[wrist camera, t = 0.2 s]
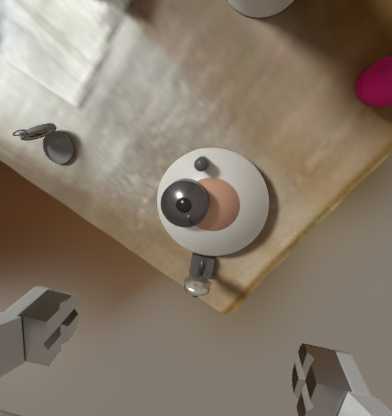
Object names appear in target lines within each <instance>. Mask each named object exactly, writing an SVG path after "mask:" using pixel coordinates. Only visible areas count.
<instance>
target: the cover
mask: <svg viewBox="0 0 392 416" xmlns="http://www.w3.org/2000/svg"><path fill="white" fill-rule="evenodd" d="M208 207H209V195H208V193H207V191H206V189H205V188H204V186H203V185H202V184H200V183H199V182H197V181H196V180H193V179H188V178H183V179H179V180H176V181H174V182H173V183H172V184H171V185H169V186H168V187H167V188H166V190H165V191H164V192H163V194H162V197H161V210H162V213H163V214H164V216H165V218H166V219H167V220H168V221H169V222H170V223H172V224H174V225H176V226H178V227H184V228H187V227H192V226H195V225H197V224H199V223H200V222H201V221H202V220H203V219H204V217H205V215H206V213H207V210H208Z"/></svg>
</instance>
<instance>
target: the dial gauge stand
mask: <svg viewBox="0 0 392 416" xmlns="http://www.w3.org/2000/svg"><path fill="white" fill-rule="evenodd" d="M214 262H215V257H214V256H209V255H202V254H198V253H193V254H192V260H191V267H190V274H189V275H192V276H188V277H187V278H186V279H185V281H184V290H185V291H186V292H187V293H189V294H191V295H192V296H193V297H198V296H204V295H207V294H208V293H209V291H210V286H211V284H210V281H209V280H208V279H212V274H213V268H214ZM206 278H208V279H206Z"/></svg>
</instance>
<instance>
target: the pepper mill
mask: <svg viewBox="0 0 392 416" xmlns="http://www.w3.org/2000/svg"><path fill="white" fill-rule="evenodd" d="M356 94H357V97H358V98H359V100H360V101H362V102H363V103H365V104H368V105H374V106H377V107H388V106H392V56H390V57H386V58H383V59H381V60H379V61H377V62H376V63H374V64H373V65H372V66H371V67H369V68H368V69H366V70H365V71H364V72H363V73H362V74H361V75H360V77H359V78H358V80H357V83H356Z"/></svg>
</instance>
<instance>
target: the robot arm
mask: <svg viewBox="0 0 392 416" xmlns="http://www.w3.org/2000/svg"><path fill="white" fill-rule="evenodd" d="M227 1H228V2H229V3H230V5H231V6H232V7H233V8H234V9H236V10H237V11H238V12H240V13H242V14H244V15H246V16H250V17H256V18H262V17H268V16H272V15H274V14H277V13H279V12H281V11H282V10H284V9H285V8H287V7H288V6H289V5H290V4H291V3H292V2H293V1H294V0H227ZM77 305H78V296H77V295H76V294H72V293H68V292H64V291H60V290H55V289H50V288H46V287H42V286H36V287H34V288H33V289H32V290H30V291H29V292H28V293H27V294H25V295H24V296H23V297H22V298H20V299H19V300H18V301H17V302H15V303H14V304H13V305H12V306H10V307H9V308H8V309H7V310H6V311H5V312H3V313H2V312H0V377H1V376H3V375H5V374H6V373H8V372H9V371H11V370H12V369H14V368H16V367H18V366H19V365H21V364H23V363H24V362H25V361H27V362H32V363H37V364H42V365H46V366H49V365H50V364H51V362H52V361H53V360H54V358H55V357H56V356H57V355H58V353H59V352H60V351H61V344H62V343H65V342H67V341H69V339H70V338H71V337H72V335H73V333H74V331H75V329H76V326H77V322H78V313H77V312H76V310H75V307H76V306H77ZM298 353H299V358H300V359H299V360H298V361H296V362H295V364H294V367H293V373H292V386H293V392H294V394H295V395H296V397H297V398H298V399H299V400H298V403H297V412H298V416H392V412H391V411H390V410H389V409H388V408H387V407H386V406H385V405H384V404H383V403H381V402H380V401H379V400H378V399H377V398H375V397H371V395H370V393H369V391H368V388H367V387H366V384H365V382H364V380H363V378H362V376H361V374H360V372H359V370H358V368H357V366H356V364H355V362H354V360H353V358H352V356H351V354H350V353H349V352H344V351H340V350H334V349H327V348H323V347H318V346H313V345H309V344H304V343H303V344H302V345H301V346H300V348H299V351H298ZM0 416H21V415H17V414H13V413H9V412H6V411H2V410H0Z"/></svg>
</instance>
